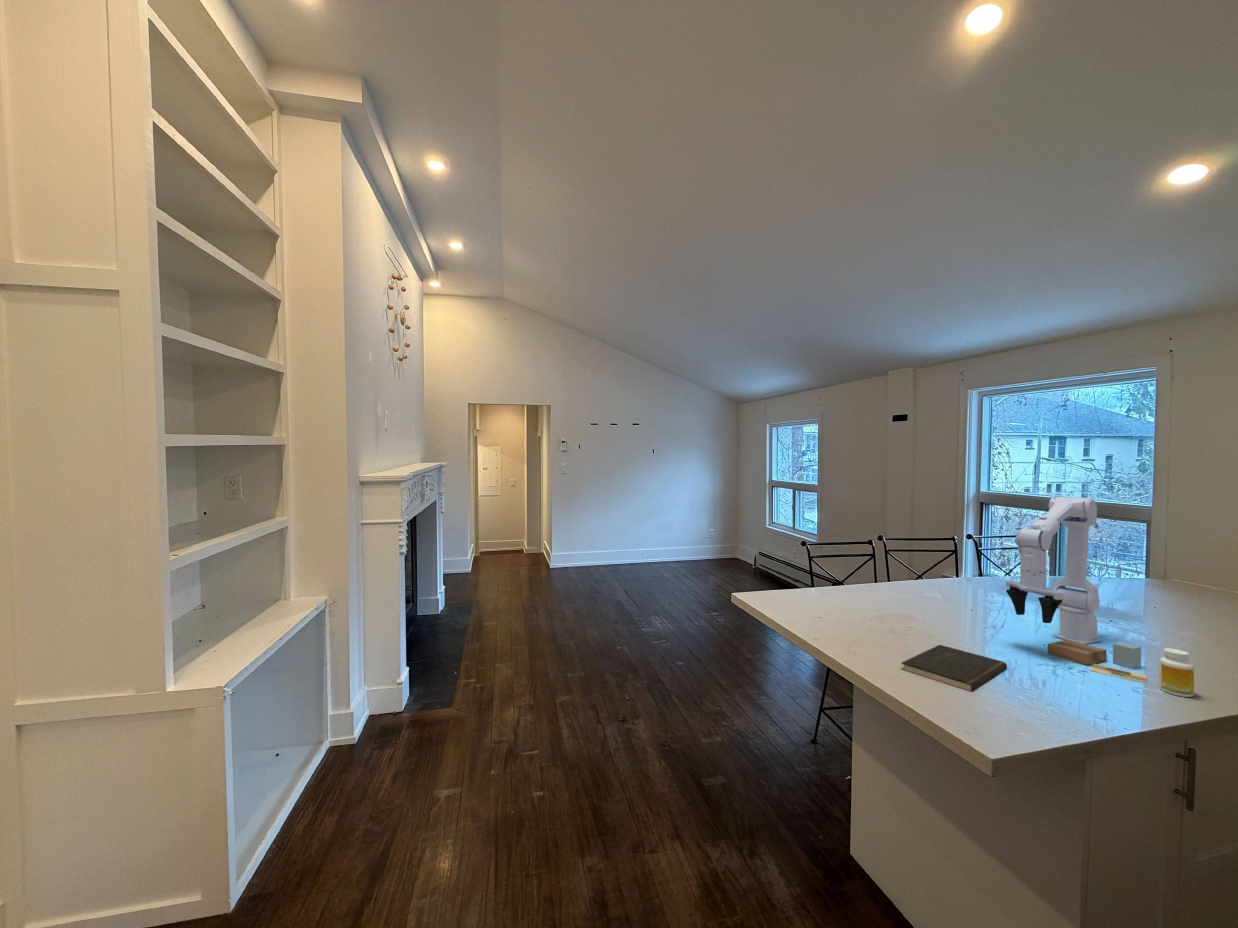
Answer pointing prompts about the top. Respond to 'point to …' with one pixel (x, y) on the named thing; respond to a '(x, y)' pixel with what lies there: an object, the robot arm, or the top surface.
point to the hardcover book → (955, 667)
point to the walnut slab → (1077, 652)
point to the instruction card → (1119, 673)
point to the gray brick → (1127, 655)
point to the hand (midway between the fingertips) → (1033, 618)
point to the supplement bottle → (1176, 673)
